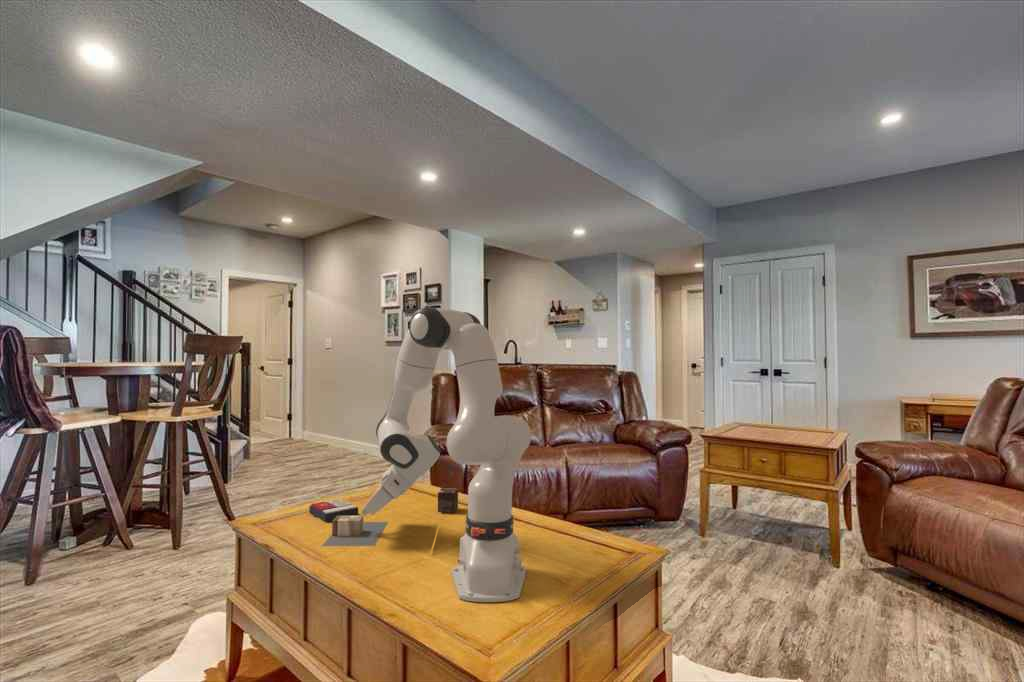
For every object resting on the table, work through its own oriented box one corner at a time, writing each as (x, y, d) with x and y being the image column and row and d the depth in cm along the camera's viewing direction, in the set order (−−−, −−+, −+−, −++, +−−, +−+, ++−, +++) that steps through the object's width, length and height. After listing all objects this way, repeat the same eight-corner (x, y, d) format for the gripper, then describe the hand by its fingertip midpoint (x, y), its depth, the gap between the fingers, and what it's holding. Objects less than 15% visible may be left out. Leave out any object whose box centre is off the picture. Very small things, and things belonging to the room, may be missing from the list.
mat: (374, 547, 143) (374, 545, 143) (321, 548, 142) (321, 545, 142) (388, 523, 163) (388, 521, 163) (341, 524, 162) (341, 522, 162)
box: (458, 508, 180) (458, 488, 180) (454, 514, 174) (455, 492, 174) (441, 508, 180) (441, 487, 180) (437, 513, 174) (437, 492, 174)
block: (359, 520, 150) (332, 520, 150) (359, 535, 150) (332, 535, 150) (363, 515, 155) (336, 515, 155) (363, 530, 155) (336, 530, 154)
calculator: (340, 497, 180) (358, 505, 169) (340, 509, 180) (358, 518, 169) (309, 503, 173) (325, 511, 162) (308, 516, 173) (325, 525, 161)
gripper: (395, 465, 164) (364, 495, 163) (383, 481, 143) (347, 516, 143) (409, 478, 164) (378, 509, 163) (398, 497, 144) (363, 532, 143)
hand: (363, 512), depth 153 cm, fingers closed
